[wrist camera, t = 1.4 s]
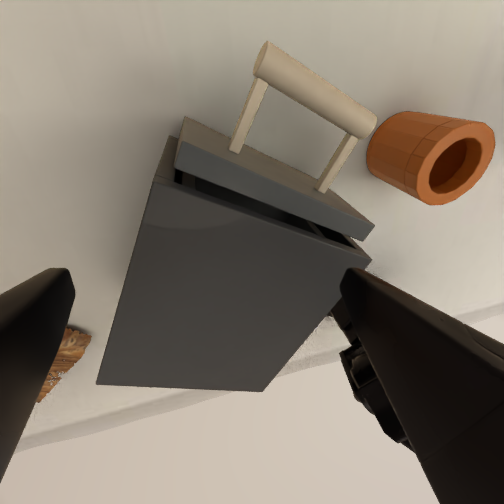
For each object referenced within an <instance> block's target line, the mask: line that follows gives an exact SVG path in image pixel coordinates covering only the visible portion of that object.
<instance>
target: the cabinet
mask: <svg viewBox="0 0 504 504" xmlns="http://www.w3.org/2000/svg"><path fill="white" fill-rule="evenodd" d="M178 140H179V139H177V138H174V137H172V136H169V137H168V140H167V143H166V146H165V149H164V151H163V154H162V157H161V160H160V163H159V165H158V168H157V171H156V174H155V177H154V179H153V182H152V186H151V189H150V193H149V196H148V200H147V204H146V207H145V211H144V214H143V218H142V221H141V225H140V228H139V232H138V235H137V239H136V242H135V246H134V250H133V253H132V257H131V260H130V264H129V267H128V271H127V274H126V278H125V281H124V285H123V288H122V292H121V296H120V299H119V303H118V306H117V310H116V313H115V317H114V320H113V324H112V327H111V331H110V335H109V338H108V342H107V345H106V349H105V352H104V356H103V359H102V363H101V366H100V370H99V373H98V377H97V381H96V385H115V386H137V387H159V388H182V389H204V390H227V391H249V392H250V391H251V392H263V391H264V389H265V388H266V387H267V386H268V385H269V383H270V382H271V381H272V380H273V379H274V377H275V376H276V375H277V374H278V373H279V371H280V370H281V369H282V368H283V367H284V365H285V364H286V363H287V362H288V361H289V359H290V358H291V357H292V356H293V355H294V353H295V352H296V351H297V350H298V349H299V347H300V346H301V345H302V344H303V343H304V341H305V340H306V339H307V338H308V337H309V335H310V334H311V333H312V332H313V331H314V329H315V328H316V327H317V326H318V325H319V323H320V322H321V321H322V320H323V319H324V317H325V316H326V315H327V314H328V313H329V311H330V310H331V309H332V308H333V307H334V305H335V304H336V303H337V302H338V301H339V299H340V298H341V297H342V295H341V293H340V289H339V286H340V282H341V280H342V278H343V276H344V273H345V271H346V269H348V268H350V267H358V268H361V269H363V270H364V269H365V268H366V267H367V266H368V265H369V263H370V262H371V261H372V259H371V258H370V257H369V256H368V255H367V254H366V253H365V252H364V251H363V250H362V249H361V248H360V247H359V246H358V245H357V244H356V243H355V242H354V241H353V240H352V239H351V238H350V237H349V236H347V235H344V234H342V233H339V232H336V231H334V230H331V229H329V228H326V227H324V226H321V225H319V224H316V223H314V224H315V226H316V227H317V228H318V229H319V230H320V232H321V233H322V234H323V235H324V236H325V238H324V237H322V236H319V235H316V234H314V233H311V232H308V231H305V230H303V229H300V228H297V227H295V226H292V225H289V224H287V223H284V222H281V221H278V220H276V219H273V218H270V217H268V216H265V215H262V214H259V213H257V212H254V211H251V210H249V209H246V208H243V207H240V206H238V205H235V204H232V203H230V202H227V201H224V200H221V199H219V198H216V197H213V196H211V195H208V194H205V193H203V192H200V191H197V190H194V189H192V188H189V187H186V186H184V185H181V184H178V183H176V180H177V177H178V174H179V171H180V170H178V169H175V168H174V162H175V157H176V151H177V146H178Z"/></svg>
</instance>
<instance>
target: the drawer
mask: <svg viewBox="0 0 504 504" xmlns="http://www.w3.org/2000/svg"><path fill="white" fill-rule="evenodd" d="M253 75H254V76H256V77H257V78H255V80H254V82H253V85H252V87H251V90H250V92H249V95H248V97H247V100H246V102H245V105H244V107H243V110H242V112H241V115H240V117H239V120H238V122H237V125H236V127H235V130H234V132H233V135H232V137H231V138H230V137H228V136H226V135H224V134H221V133H219V132H217V131H215V130H213V129H211V128H209V127H207V126H205V125H203V124H201V123H199V122H197V121H194V120H192V119H190V118H188V117H186V116H185V118H184V121H183V124H182V128H181V131H180V135H179V140H178V146H177V151H176V157H175V162H174V168H175V169H178V170H180V171H179V174H178V177H177V180H176V183H178V184H181V185H184V186H186V187H189V188H192V189H194V190H197V191H200V192H203V193H205V194H208V195H211V196H213V197H216V198H219V199H221V200H224V201H227V202H230V203H232V204H235V205H238V206H240V207H243V208H246V209H249V210H251V211H254V212H257V213H259V214H262V215H265V216H268V217H270V218H273V219H276V220H278V221H281V222H284V223H287V224H289V225H292V226H295V227H297V228H300V229H303V230H305V231H308V232H311V233H314V234H316V235H319V236H322V237H324V238H325V236H324V235H323V234H322V233H321V232H320V230H319V229H318V228H317V227H316V226H315V224H314V223H316V224H319V225H321V226H324V227H326V228H329V229H331V230H334V231H336V232H339V233H342V234H344V235H347V236H349V237H352V238H354V239H357V240H359V241H364V239H365V238H366V237H367V236H368V234H369V233H370V232H371V231H372V229H373V228H374V227H375V225H374V224H373V223H372V222H370V221H369V220H368V219H367V218H365V217H364V216H363V215H362V214H360V213H359V212H358V211H357V210H355V209H354V208H353V207H352V206H350V205H349V204H348V203H347V202H346V201H344V200H343V199H342V198H341V197H339V196H338V195H337V194H336V193H334V192H333V191H332V190H331V189H329V186H330V185H331V183H332V181H333V180H334V178H335V177H336V175H337V173H338V172H339V170H340V169H341V167H342V165H343V164H344V162H345V161H346V159H347V158H348V156H349V154H350V153H351V151H352V150H353V148H354V146H355V145H356V143H357V142H358V140H359V139H364V138H366V137H367V136H368V135H369V134H370V133H371V132H372V131H373V129H374V128H375V126H376V123H377V117H376V115H374V114H373V113H372V112H370V111H369V110H367V109H366V108H364V107H363V106H361V105H360V104H359V103H357V102H356V101H354V100H353V99H351V98H350V97H348V96H347V95H346V94H344V93H343V92H341V91H340V90H338V89H337V88H335V87H334V86H333V85H331V84H330V83H328V82H327V81H325V80H324V79H323V78H321V77H320V76H318V75H317V74H315V73H314V72H312V71H311V70H310V69H308V68H307V67H305V66H304V65H302V64H301V63H299V62H298V61H297V60H295V59H294V58H292V57H291V56H289V55H288V54H286V53H285V52H284V51H282V50H281V49H279V48H278V47H276V46H275V45H274V44H272V43H271V42H269V41H266V42H265V43H264V45H263V46H262V48H261V50H260V52H259V54H258V57H257V59H256V62H255V65H254V69H253ZM268 84H269V85H271V86H272V87H274V88H275V89H277V90H279V91H280V92H282V93H284V94H285V95H287V96H288V97H290V98H292V99H293V100H295V101H297V102H298V103H300V104H301V105H303V106H305V107H306V108H308V109H310V110H311V111H313V112H314V113H316V114H318V115H319V116H321V117H323V118H324V119H326V120H328V121H329V122H331V123H332V124H334V125H336V126H337V127H339V128H341V129H342V130H344V131H345V132H347V134H346V135H345V137H344V138H343V140H342V142H341V143H340V145H339V147H338V148H337V150H336V152H335V153H334V155H333V157H332V158H331V160H330V162H329V163H328V165H327V167H326V168H325V170H324V172H323V173H322V175H321V177H320V178H319V180H317V179H315V178H313V177H311V176H309V175H307V174H305V173H303V172H300V171H298V170H296V169H294V168H292V167H290V166H288V165H286V164H284V163H282V162H280V161H278V160H276V159H273V158H271V157H269V156H267V155H265V154H263V153H261V152H259V151H257V150H255V149H253V148H251V147H248V146H246V145H244V144H243V143H244V141H245V139H246V136H247V134H248V131H249V129H250V127H251V124H252V122H253V120H254V117H255V115H256V113H257V110H258V108H259V106H260V103H261V101H262V99H263V96H264V94H265V92H266V89H267V87H268ZM348 133H349V134H348Z"/></svg>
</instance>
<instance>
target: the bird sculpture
mask: <svg viewBox="0 0 504 504" xmlns="http://www.w3.org/2000/svg"><path fill="white" fill-rule="evenodd" d="M79 332H80V331H75V330H74V332H73V331H72V330H71V329H70V328H69V330H68V329H67V327H66V329H65V332H64V336H63V339H62V342H61V345H60V348H59V350H58V353H57V355H56V357H55V360H54V362H53V364H52V366H51V369H50V371H49V373H51V374H52V376H51V375H49V373H48V376H47V378H46V379H47V380H45V382H44V385H43V387H42V389H41V391H40V394H39V396H38V398H37V401H36V402H38V403H39V402H40V401H42V399H43V398H44V397H45V396H46V394H47V393H49V392H50V391H51V389H52V388H54V386H55V385H56V384H57V383H58V381H59V380H60V379H61V378H60V377H58V373H56V372H57V371H59V372H60V373H62V371H63V372H64V373H65V372H66V373H67V371H69V369H70V368H72V367H73V366H74V363H76V362H77V361H78V360H79V359H80V358H81V357H82V355H83V354H84V353H85V349H86V347H87V346H88V345H89V343H90V340H91V337H92V336H91V335H87V334H85V335H84V334H83V333H81V334H78V333H79ZM63 360H65V361H63ZM68 362H69V363H68ZM52 371H53V372H52ZM64 373H63V374H64ZM51 377H57V378H53V379H55V380H56V381H51V382H53V385H50V383H51V382H47V381H49V380H53V379H52V378H51Z"/></svg>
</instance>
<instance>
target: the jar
mask: <svg viewBox="0 0 504 504" xmlns="http://www.w3.org/2000/svg"><path fill="white" fill-rule="evenodd" d="M494 148H495V137H494V132H493V130H492V129H491V128H490V127H489V126H488V125H486V124H485V123H483V122H477V121H470V120H465V119H458V118H452V117H445V116H439V115H433V114H426V113H420V112H410V111H406V112H401V113H398V114H396V115H394V116H392V117H390V118H389V119H387V120H386V121H385V122H384V123H383V124H382V125H381V126H380V127H379V128H378V129H377V131H376V132H375V133H374V135H373V137H372V139H371V141H370V143H369V146H368V150H367V165H368V168H369V170H370V171H371V173H372V174H373V175H375V176H376V177H378V178H380V179H382V180H383V181H385V182H387V183H389V184H391V185H393V186H394V187H396V188H398V189H400V190H402V191H404V192H406V193H407V194H409V195H411V196H413V197H415V198H417V199H419V200H420V201H422V202H424V203H426V204H428V205H443V204H446V203H448V202H451V201H453V200H456V199H457V198H458V197H460V196H461V195H463V194H464V193H465V192H467V191H468V190H469V189H471V188H472V187H473V186H474V185H475V183H476V182H477V181H478V180H479V179H480V178H481V177H482V175H483V174H484V172H485V170H486V168H487V167H488V165H489V163H490V161H491V159H492V156H493V152H494Z"/></svg>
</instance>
